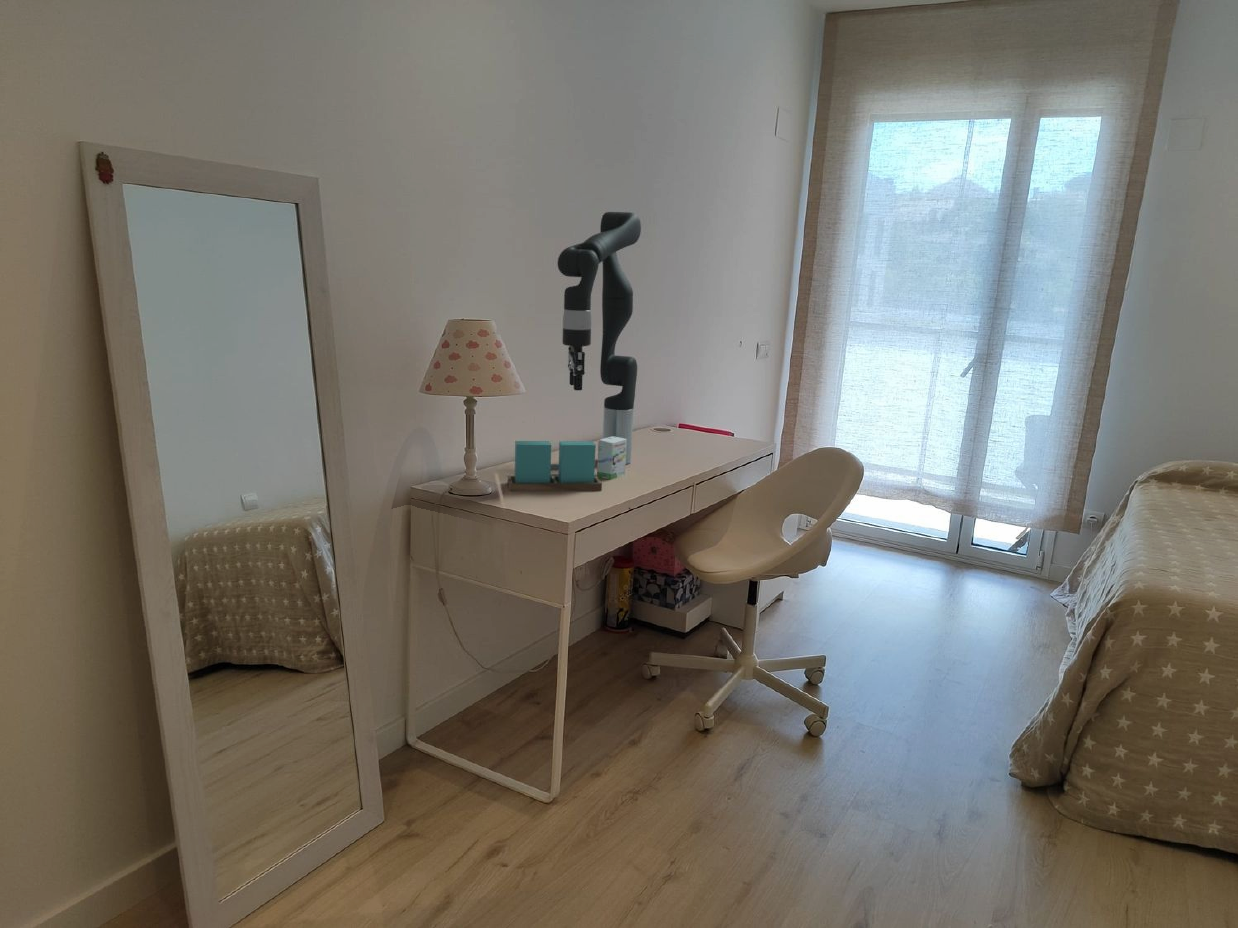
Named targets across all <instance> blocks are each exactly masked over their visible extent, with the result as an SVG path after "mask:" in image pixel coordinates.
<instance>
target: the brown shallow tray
mask: <svg viewBox="0 0 1238 928" xmlns="http://www.w3.org/2000/svg"><path fill="white" fill-rule="evenodd" d="M506 482H507V486H508V490H509V492H584V491H585V492H600V491H602V490H603V489H602V487H603V483H602V482H601V480H600V478H598V477H597V474H596V475H595V474H594V483H558V476H550V483H515V475H507V481H506Z"/></svg>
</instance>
